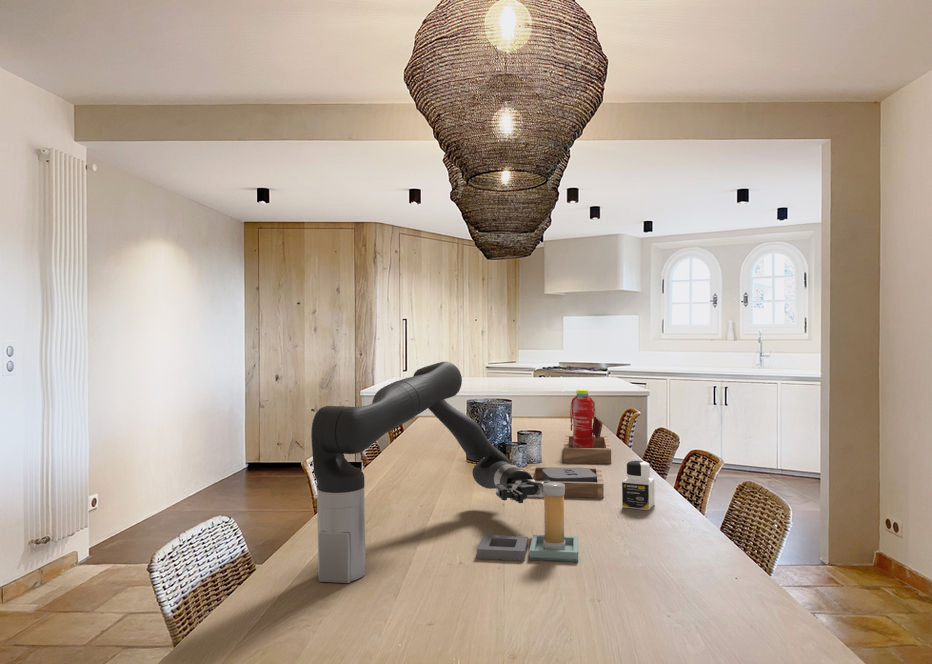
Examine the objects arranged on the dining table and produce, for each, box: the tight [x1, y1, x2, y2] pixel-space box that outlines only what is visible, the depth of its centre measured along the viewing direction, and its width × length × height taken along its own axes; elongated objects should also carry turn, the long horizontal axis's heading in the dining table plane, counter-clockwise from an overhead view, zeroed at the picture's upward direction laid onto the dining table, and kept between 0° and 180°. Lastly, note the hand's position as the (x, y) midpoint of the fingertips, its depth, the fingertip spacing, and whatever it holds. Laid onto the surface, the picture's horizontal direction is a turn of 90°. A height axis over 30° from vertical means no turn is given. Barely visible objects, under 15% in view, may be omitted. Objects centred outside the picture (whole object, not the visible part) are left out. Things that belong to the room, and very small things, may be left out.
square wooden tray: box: [528, 466, 605, 499], centre depth 208 cm, size 22×22×4 cm
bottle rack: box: [562, 435, 612, 464], centre depth 261 cm, size 30×17×5 cm, turn 171°
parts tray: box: [529, 534, 579, 563], centre depth 148 cm, size 11×10×2 cm
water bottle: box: [569, 388, 604, 448], centre depth 261 cm, size 12×8×25 cm, turn 80°
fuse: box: [543, 482, 565, 550], centre depth 148 cm, size 5×5×14 cm
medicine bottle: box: [621, 460, 656, 511], centre depth 186 cm, size 7×7×12 cm
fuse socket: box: [476, 534, 529, 561], centre depth 149 cm, size 10×10×2 cm
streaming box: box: [542, 466, 597, 482], centre depth 207 cm, size 14×14×5 cm
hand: (539, 497), depth 156 cm, fingers open, 8 cm apart
